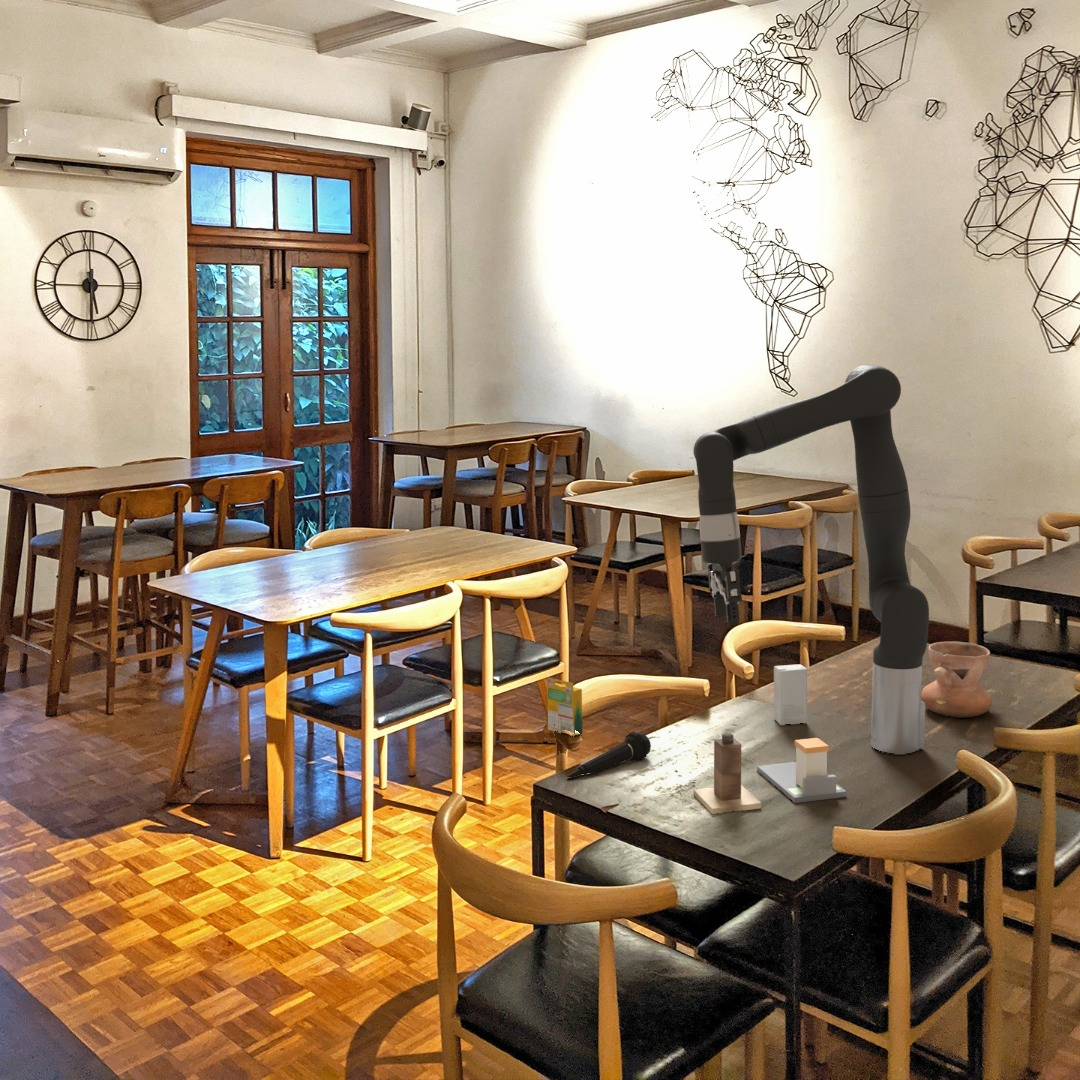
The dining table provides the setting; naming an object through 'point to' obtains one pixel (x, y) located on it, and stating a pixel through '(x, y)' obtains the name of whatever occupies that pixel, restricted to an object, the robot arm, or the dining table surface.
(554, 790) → the dining table surface
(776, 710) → the skincare box
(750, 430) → the robot arm
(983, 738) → the dining table surface
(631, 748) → the microphone
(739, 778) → the pepper mill
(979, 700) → the ceramic jug
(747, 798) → the coaster
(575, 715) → the food box
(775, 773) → the panel
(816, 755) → the orange-capped white pillar
